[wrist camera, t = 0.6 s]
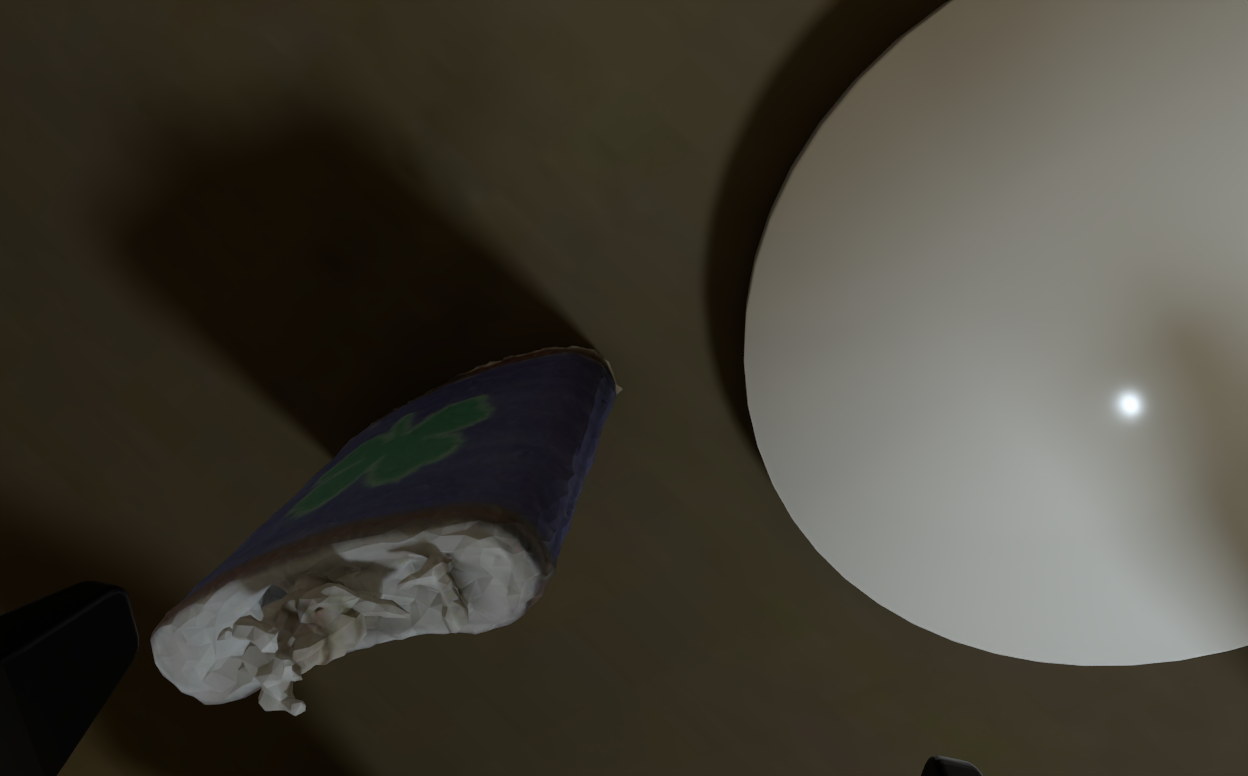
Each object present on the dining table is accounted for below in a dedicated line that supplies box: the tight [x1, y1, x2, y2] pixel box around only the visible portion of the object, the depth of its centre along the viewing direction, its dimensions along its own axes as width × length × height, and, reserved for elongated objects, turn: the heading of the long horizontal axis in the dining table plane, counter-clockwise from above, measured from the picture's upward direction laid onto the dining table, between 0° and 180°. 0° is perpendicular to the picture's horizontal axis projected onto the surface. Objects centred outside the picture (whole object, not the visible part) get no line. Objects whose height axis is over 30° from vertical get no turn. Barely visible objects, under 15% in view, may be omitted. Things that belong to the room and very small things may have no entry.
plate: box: [744, 0, 1248, 666], centre depth 18 cm, size 18×18×2 cm
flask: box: [150, 345, 622, 716], centre depth 18 cm, size 9×3×11 cm, turn 115°
